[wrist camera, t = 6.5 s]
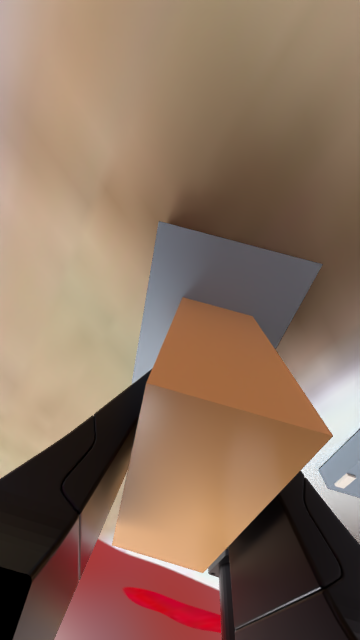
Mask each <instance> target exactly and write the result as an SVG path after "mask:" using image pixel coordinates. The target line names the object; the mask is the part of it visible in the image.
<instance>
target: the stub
mask: <svg viewBox="0 0 360 640" xmlns="http://www.w3.org/2000/svg"><path fill="white" fill-rule="evenodd" d="M322 265H323V264H320V263H316V262H312V261H309V260H305V259H301V258H297V257H293V256H290V255H286V254H282V253H278V252H274V251H271V250H267V249H263V248H259V247H255V246H252V245H248V244H244V243H240V242H236V241H233V240H229V239H225V238H221V237H217V236H214V235H210V234H206V233H202V232H198V231H195V230H191V229H187V228H183V227H179V226H176V225H172V224H168V223H164V222H160V221H159V223H158V229H157V235H156V241H155V247H154V253H153V259H152V265H151V271H150V277H149V283H148V289H147V295H146V301H145V307H144V313H143V319H142V325H141V331H140V337H139V343H138V349H137V355H136V361H135V367H134V373H133V379H132V384H133V383H134V382H136V381H137V380H138V379H139V378H141V377H142V376H143V375H144V374H146V373H147V372H148V371H150V370H151V369H152V371H151V373H150V375H149V378H148V380H147V382H146V387H145V391H144V396H143V401H142V406H141V410H140V415H139V420H138V425H137V429H136V434H135V439H134V443H133V448H132V453H131V458H130V462H129V467H128V472H127V476H126V481H125V486H124V491H123V495H122V500H121V505H120V510H119V514H118V519H117V524H116V528H115V533H114V538H113V543H112V545H113V546H116V547H120V548H123V549H126V550H129V551H133V552H136V553H139V554H142V555H146V556H149V557H152V558H156V559H159V560H162V561H165V562H169V563H172V564H175V565H178V566H182V567H185V568H188V569H192V570H195V571H198V572H201V573H203V572H204V571H205V570H206V569H207V568H208V567H209V566H210V565H211V564H212V563H213V562H214V561H215V560H216V559H217V558H218V557H219V556H220V555H221V554H222V552H223V551H224V550H225V549H226V548H227V547H228V546H229V545H230V544H231V543H232V542H233V541H234V540H235V539H236V538H237V537H238V536H239V535H240V534H241V532H242V531H243V530H244V529H245V528H246V527H247V526H248V525H249V524H250V523H251V522H252V521H253V520H254V519H255V518H256V517H257V516H258V515H259V514H260V512H261V511H262V510H263V509H264V508H265V507H266V506H267V505H268V504H269V503H270V502H271V501H272V500H273V499H274V498H275V497H276V496H277V495H278V493H279V492H280V491H281V490H282V489H283V488H284V487H285V486H286V485H287V484H288V483H289V482H290V481H291V480H292V479H293V478H294V477H295V476H296V475H297V473H298V472H299V471H300V470H301V469H302V468H303V467H304V466H305V465H306V464H307V463H308V462H309V461H310V460H311V459H312V458H313V457H314V456H315V455H316V453H317V452H318V451H319V450H320V449H321V448H322V447H323V446H324V445H325V444H326V443H327V442H328V441H329V440H330V439H331V438H332V437H333V435H332V434H331V432H330V431H329V429H328V428H327V426H326V425H325V423H324V422H323V420H322V419H321V417H320V416H319V414H318V413H317V411H316V410H315V408H314V407H313V405H312V404H311V402H310V401H309V399H308V398H307V396H306V395H305V393H304V392H303V390H302V389H301V387H300V386H299V384H298V383H297V381H296V380H295V378H294V377H293V375H292V374H291V372H290V371H289V369H288V368H287V366H286V365H285V364H284V362H283V361H282V359H281V358H280V356H279V355H278V353H277V352H276V350H275V349H276V348H277V346H278V344H279V342H280V340H281V339H282V337H283V335H284V333H285V331H286V330H287V328H288V326H289V324H290V322H291V321H292V319H293V317H294V315H295V313H296V312H297V310H298V308H299V306H300V304H301V303H302V301H303V299H304V297H305V295H306V294H307V292H308V290H309V288H310V286H311V285H312V283H313V281H314V279H315V277H316V276H317V274H318V272H319V270H320V268H321V267H322Z"/></svg>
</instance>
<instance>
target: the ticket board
mask: <svg viewBox="0 0 360 640" xmlns="http://www.w3.org/2000/svg"><path fill="white" fill-rule="evenodd" d="M319 472H320V474H321V476H322V478H323V480H324V482H325V484H326V486H327V488H328V489H331V490H335V491H338V492H342V493H345V494H348V495H352V496H355V497H359V498H360V430H359V431H358V432H357V433H356V434H355V435H354V436H353V437H352V438H351V439H350V440H349V441H347V442H346V443H345V444H344V445H343V446H342V447H341V448H340V449H339V450H338V451H337V452H336V453H335V454H334V455H333V456H332V457H331V458H330V459H329V460H328V461H327V462H326V463H325V464H324V465H323V466H322V467H321V468H320V469H319Z"/></svg>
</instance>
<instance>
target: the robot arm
mask: <svg viewBox="0 0 360 640" xmlns="http://www.w3.org/2000/svg"><path fill="white" fill-rule="evenodd" d="M151 371H152V369H151V370H150V371H148V372H147V373H146V374H144V375H143V376H142V377H141V378H139V379H138V380H137V381H136V382H134V383H133V384H132V385H131V386H129V387H128V388H127V389H125V390H124V391H123V392H122V393H120V394H119V395H118V396H117V397H115V398H114V399H113V400H111V401H110V402H109V403H108V404H106V405H105V406H104V407H103V408H101V409H100V410H99V411H97V412H96V413H95V414H94V416H91V417H90V418H88V419H87V420H86V421H85V422H83V423H82V424H81V425H79V426H78V427H77V428H75V429H74V430H73V431H71V432H70V433H69V434H67V435H66V436H64V437H63V438H62V439H60V440H59V441H57V442H56V443H54V444H53V445H51V446H50V447H48V448H47V449H45V450H44V451H42V452H41V453H39V454H38V455H36V456H34V457H33V458H31V459H30V460H28V461H27V462H25V463H24V464H22V465H21V466H19V467H18V468H16V469H15V470H13V471H11V472H10V473H8V474H7V475H5V476H4V477H2V478H1V479H0V640H54V638H55V636H56V634H57V631H58V629H59V627H60V624H61V622H62V620H63V617H64V615H65V613H66V611H67V608H68V606H69V604H70V601H71V599H72V597H73V594H74V592H75V590H76V588H77V585H78V583H79V580H80V578H81V576H82V574H83V571H84V569H85V567H86V564H87V562H88V560H89V557H90V555H91V553H92V551H93V548H94V546H95V544H96V541H97V539H98V537H99V535H100V532H101V530H102V528H103V525H104V523H105V521H106V518H107V516H108V514H109V512H110V509H111V507H112V505H113V502H114V500H115V498H116V495H117V493H118V491H119V488H120V486H121V484H122V482H123V479H124V477H125V475H126V472H127V470H128V467H129V462H130V458H131V453H132V448H133V443H134V439H135V434H136V429H137V425H138V420H139V415H140V410H141V406H142V401H143V396H144V391H145V387H146V382H147V380H148V378H149V375H150V373H151ZM228 547H229V549H225V550H224V551H223V552H222V554H221V555H220V556H219V557H218V558H217V559H216V560H215V561H214V562H213V563H212V564H211V565H210V566H209V567H208V573H209V574H210V575H213V576H216V577H219V588H220V611H221V634H222V640H360V545H359V543H358V542H357V541H356V540H355V539H354V537H353V536H352V535H351V534H350V532H349V531H348V530H347V529H346V528H345V526H344V525H343V524H342V523H341V522H340V520H339V519H338V518H337V517H336V516H335V514H334V513H333V512H332V510H331V509H330V508H329V507H328V505H327V504H326V503H325V502H324V500H323V499H322V498H321V496H320V495H319V494H318V493H317V491H316V490H315V489H314V487H313V486H312V485H311V484H310V482H309V481H308V480H307V478H304V474H303V473H302V472H301V471H299V472H298V473H297V475H296V476H295V477H294V478H293V479H292V480H291V481H290V482H289V483H288V484H287V485H286V486H285V487H284V488H283V489H282V490H281V491H280V492H279V493H278V495H277V496H276V497H275V498H274V499H273V500H272V501H271V502H270V503H269V504H268V505H267V506H266V507H265V508H264V509H263V510H262V511H261V512H260V514H259V515H258V516H257V517H256V518H255V519H254V520H253V521H252V522H251V523H250V524H249V525H248V526H247V527H246V528H245V529H244V530H243V531H242V532H241V534H240V535H239V536H238V537H237V538H236V539H235V540H234V541H233V542H232V543H231V544H230V545H229V546H228Z"/></svg>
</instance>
